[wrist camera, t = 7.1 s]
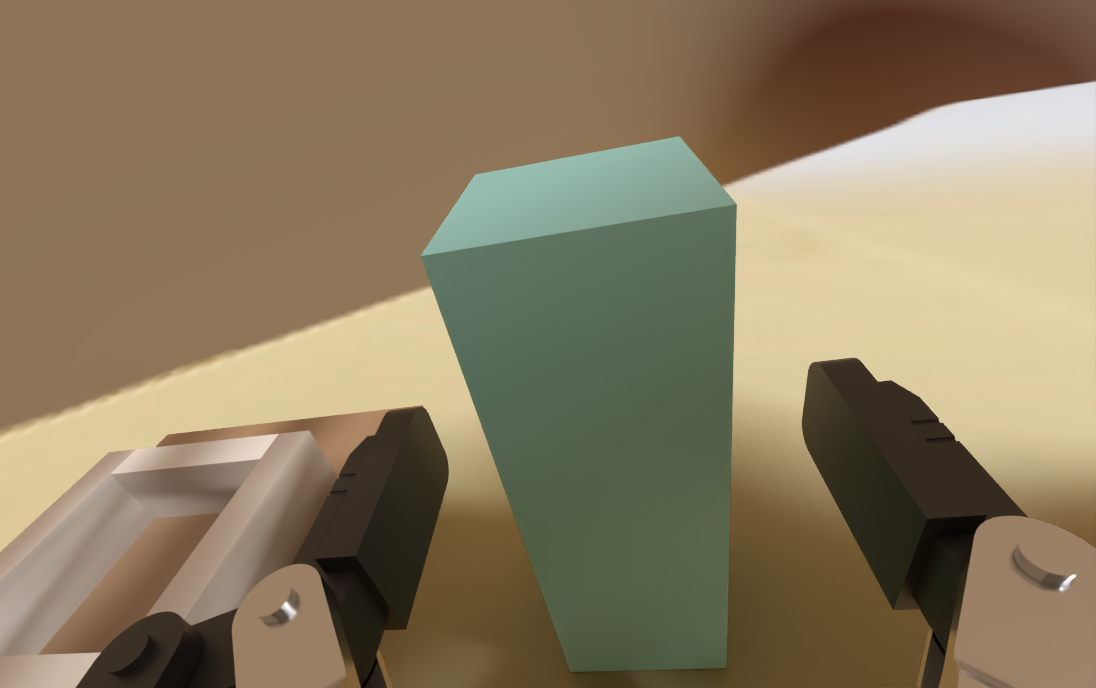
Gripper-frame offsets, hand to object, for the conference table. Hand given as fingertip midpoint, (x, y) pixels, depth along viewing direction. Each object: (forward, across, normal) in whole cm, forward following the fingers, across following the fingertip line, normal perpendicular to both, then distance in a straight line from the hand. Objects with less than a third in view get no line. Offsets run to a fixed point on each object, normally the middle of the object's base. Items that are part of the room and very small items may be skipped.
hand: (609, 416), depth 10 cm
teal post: (0, 0, +7) cm, 7 cm away
